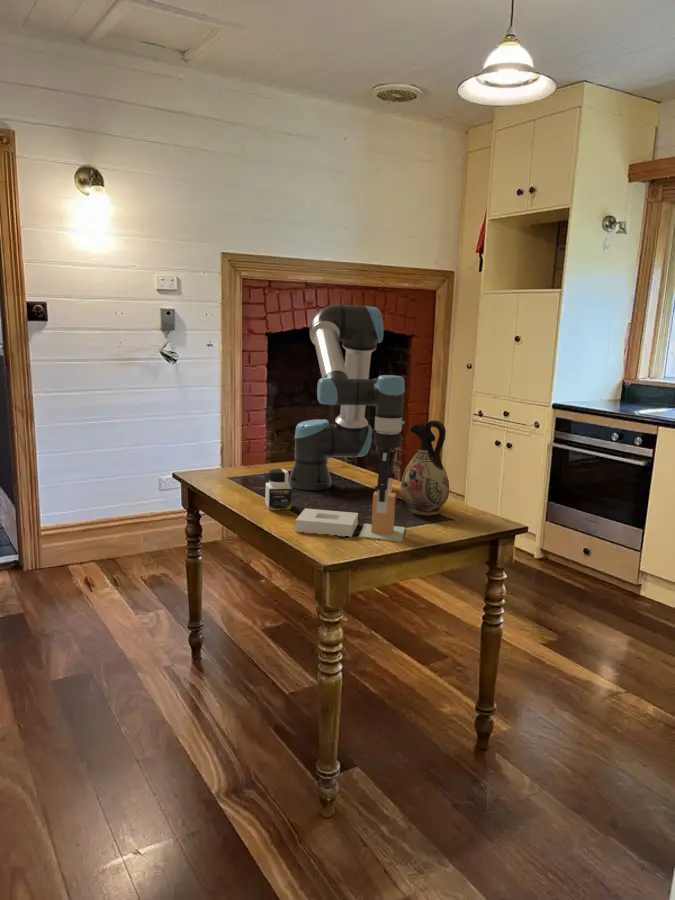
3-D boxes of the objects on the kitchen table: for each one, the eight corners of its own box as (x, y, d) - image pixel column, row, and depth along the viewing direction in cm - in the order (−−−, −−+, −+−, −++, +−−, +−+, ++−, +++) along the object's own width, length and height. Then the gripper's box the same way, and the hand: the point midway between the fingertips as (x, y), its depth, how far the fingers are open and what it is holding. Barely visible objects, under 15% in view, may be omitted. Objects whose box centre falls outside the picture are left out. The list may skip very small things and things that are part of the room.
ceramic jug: (389, 511, 217) (394, 417, 211) (416, 502, 228) (422, 413, 222) (434, 523, 206) (441, 425, 200) (461, 513, 218) (468, 420, 212)
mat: (364, 525, 201) (364, 523, 201) (405, 528, 200) (405, 527, 199) (358, 537, 190) (358, 536, 190) (401, 541, 188) (402, 540, 188)
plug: (372, 528, 197) (374, 491, 195) (393, 530, 196) (395, 493, 194) (371, 532, 193) (373, 494, 191) (392, 534, 192) (394, 496, 190)
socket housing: (304, 519, 204) (304, 508, 204) (357, 524, 202) (358, 513, 201) (295, 531, 193) (295, 519, 192) (351, 537, 190) (352, 525, 189)
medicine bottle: (268, 510, 212) (269, 472, 210) (265, 504, 219) (265, 467, 217) (291, 509, 214) (292, 472, 212) (286, 503, 221) (287, 467, 219)
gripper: (398, 440, 176) (393, 519, 180) (405, 425, 200) (400, 495, 205) (369, 438, 177) (365, 517, 182) (379, 424, 202) (375, 493, 206)
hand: (383, 506), depth 193 cm, fingers open, 13 cm apart
